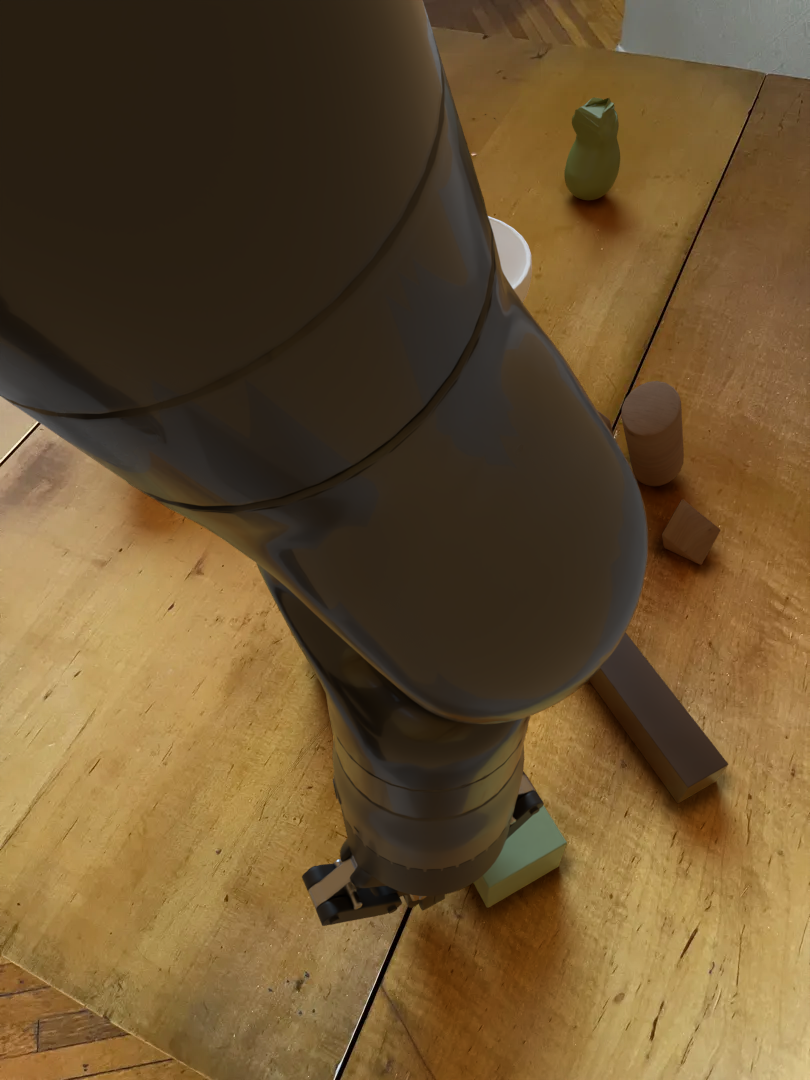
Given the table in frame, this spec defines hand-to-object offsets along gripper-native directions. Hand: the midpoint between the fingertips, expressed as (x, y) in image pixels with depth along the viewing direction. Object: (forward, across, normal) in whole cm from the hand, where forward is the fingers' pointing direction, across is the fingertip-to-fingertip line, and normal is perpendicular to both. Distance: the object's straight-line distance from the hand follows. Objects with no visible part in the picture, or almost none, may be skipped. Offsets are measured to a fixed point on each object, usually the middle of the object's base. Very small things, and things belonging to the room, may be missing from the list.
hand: (425, 888), depth 47 cm
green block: (+1, +5, 0) cm, 5 cm away
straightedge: (0, +18, +16) cm, 24 cm away
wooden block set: (-1, +28, +20) cm, 34 cm away
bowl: (-1, +26, +43) cm, 50 cm away
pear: (-2, +49, +54) cm, 73 cm away
